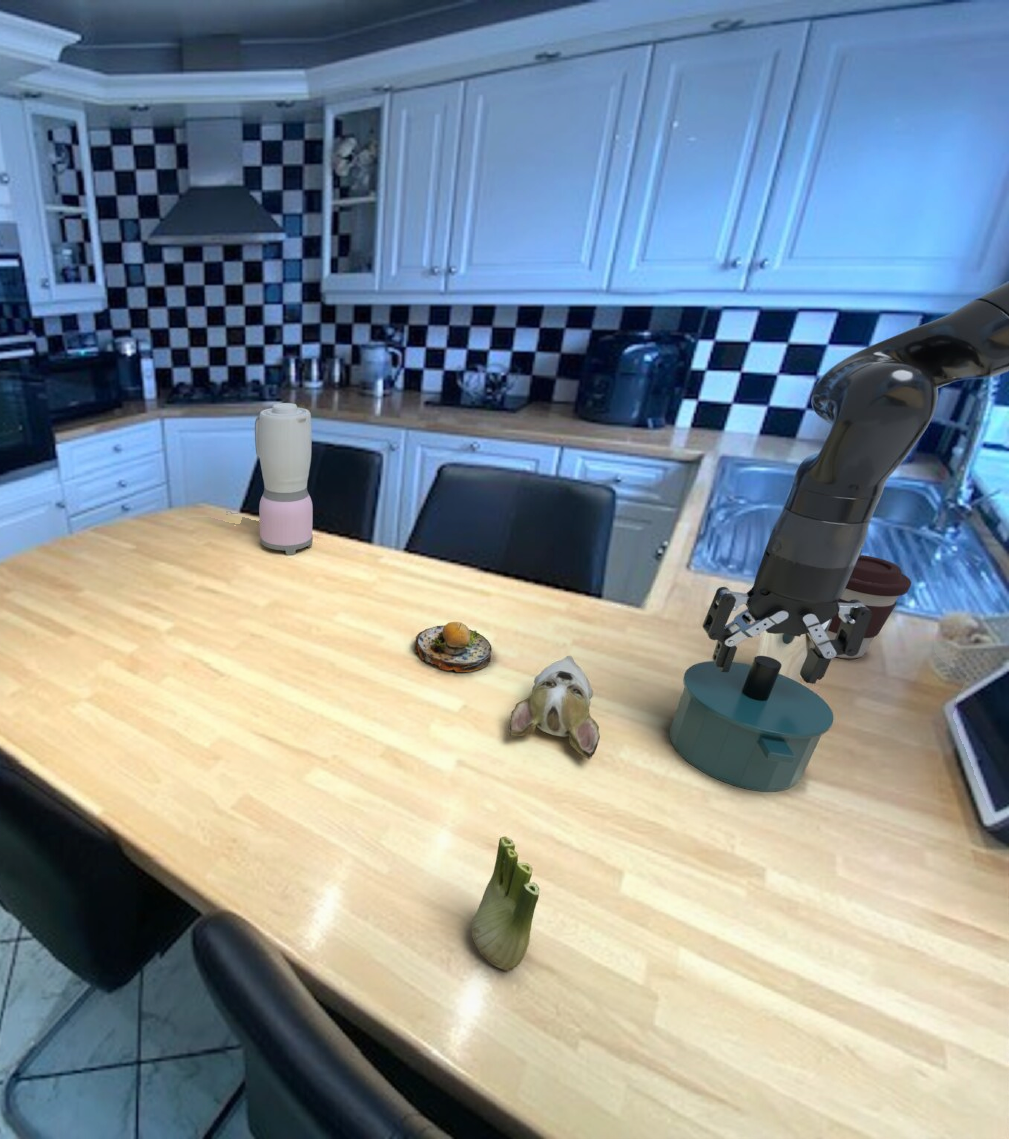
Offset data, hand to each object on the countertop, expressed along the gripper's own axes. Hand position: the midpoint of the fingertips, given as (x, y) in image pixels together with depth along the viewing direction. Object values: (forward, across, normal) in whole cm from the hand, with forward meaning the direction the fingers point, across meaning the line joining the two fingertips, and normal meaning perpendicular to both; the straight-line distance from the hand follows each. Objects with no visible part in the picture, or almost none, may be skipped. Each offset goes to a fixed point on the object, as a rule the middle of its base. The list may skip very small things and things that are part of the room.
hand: (763, 673), depth 75 cm
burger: (+12, +35, -14) cm, 40 cm away
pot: (+12, 0, 0) cm, 12 cm away
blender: (+12, +75, -51) cm, 91 cm away
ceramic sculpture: (+12, +21, +1) cm, 24 cm away
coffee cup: (+12, -23, -32) cm, 41 cm away
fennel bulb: (+12, +29, +36) cm, 48 cm away
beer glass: (+12, -10, -18) cm, 24 cm away
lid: (+4, 0, 0) cm, 4 cm away
